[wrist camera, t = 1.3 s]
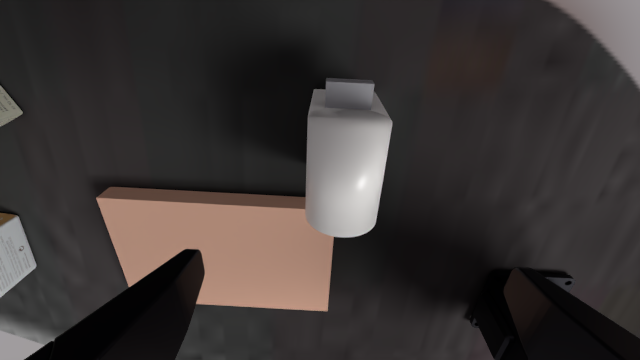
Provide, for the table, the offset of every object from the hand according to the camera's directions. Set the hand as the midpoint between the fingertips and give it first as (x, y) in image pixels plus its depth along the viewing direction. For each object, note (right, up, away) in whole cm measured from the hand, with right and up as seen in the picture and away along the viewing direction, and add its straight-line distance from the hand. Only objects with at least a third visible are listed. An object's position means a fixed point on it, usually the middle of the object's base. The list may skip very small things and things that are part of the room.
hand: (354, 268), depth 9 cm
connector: (0, +6, +10) cm, 12 cm away
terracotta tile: (-8, -3, +15) cm, 17 cm away
